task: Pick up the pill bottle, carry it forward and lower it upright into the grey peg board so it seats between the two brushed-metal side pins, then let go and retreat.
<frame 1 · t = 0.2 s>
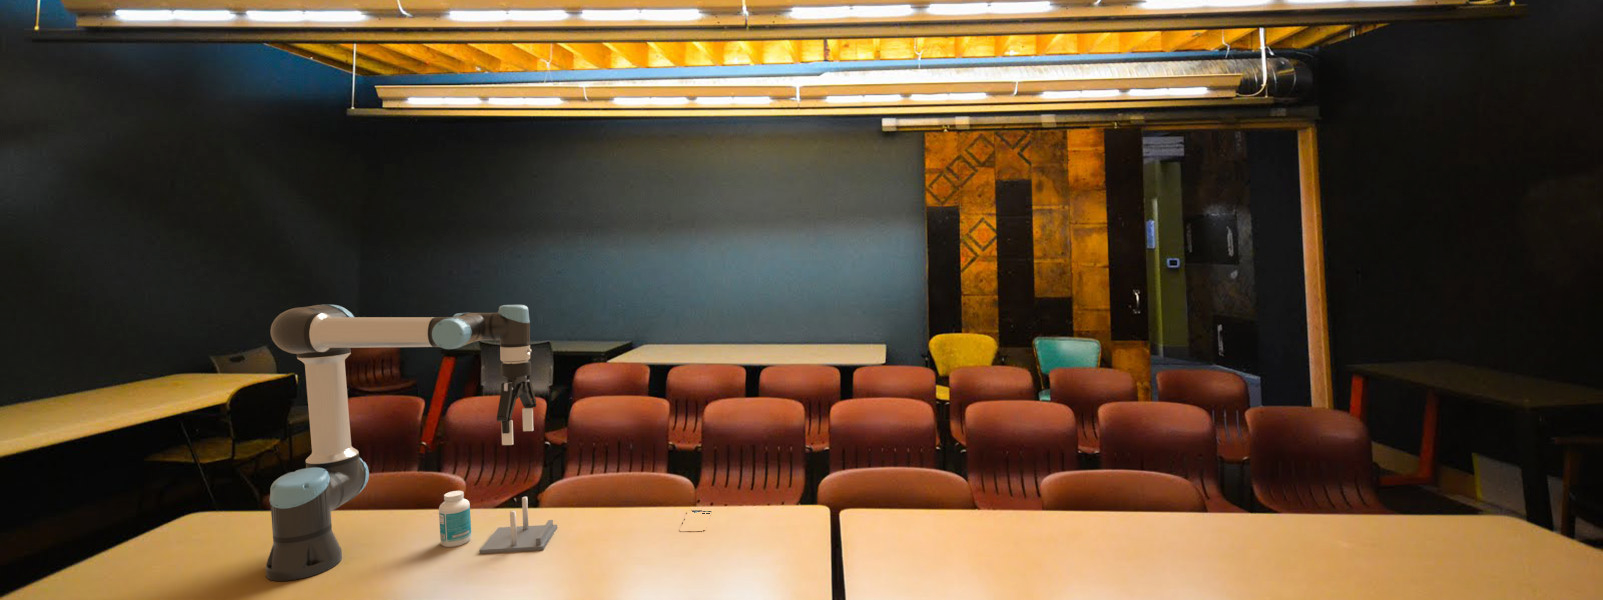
hand: (518, 437, 179), 27 cm above the table, fingers open, 13 cm apart
smartphone: (695, 522, 189), on the table
pill bottle: (456, 542, 175), on the table
grey peg board: (520, 540, 176), on the table
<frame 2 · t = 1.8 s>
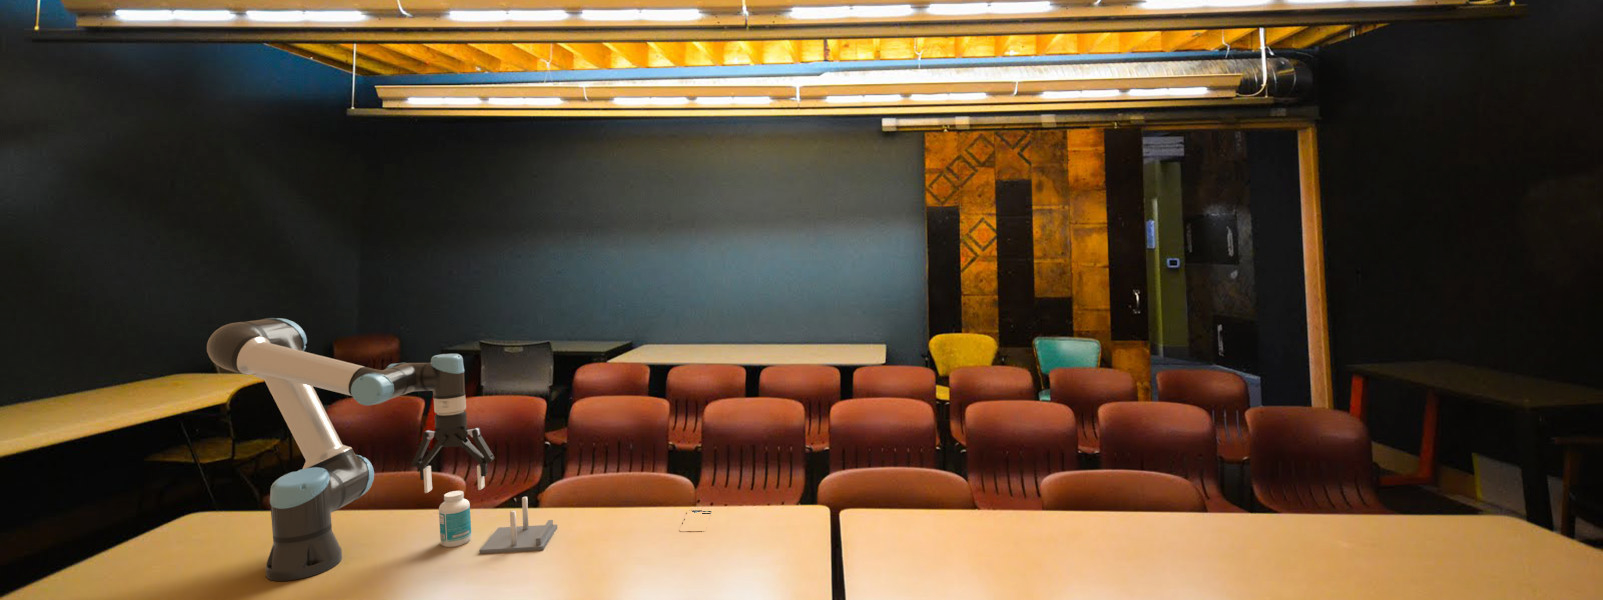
hand: (455, 489, 174), 15 cm above the table, fingers open, 13 cm apart
nothing on the table moved.
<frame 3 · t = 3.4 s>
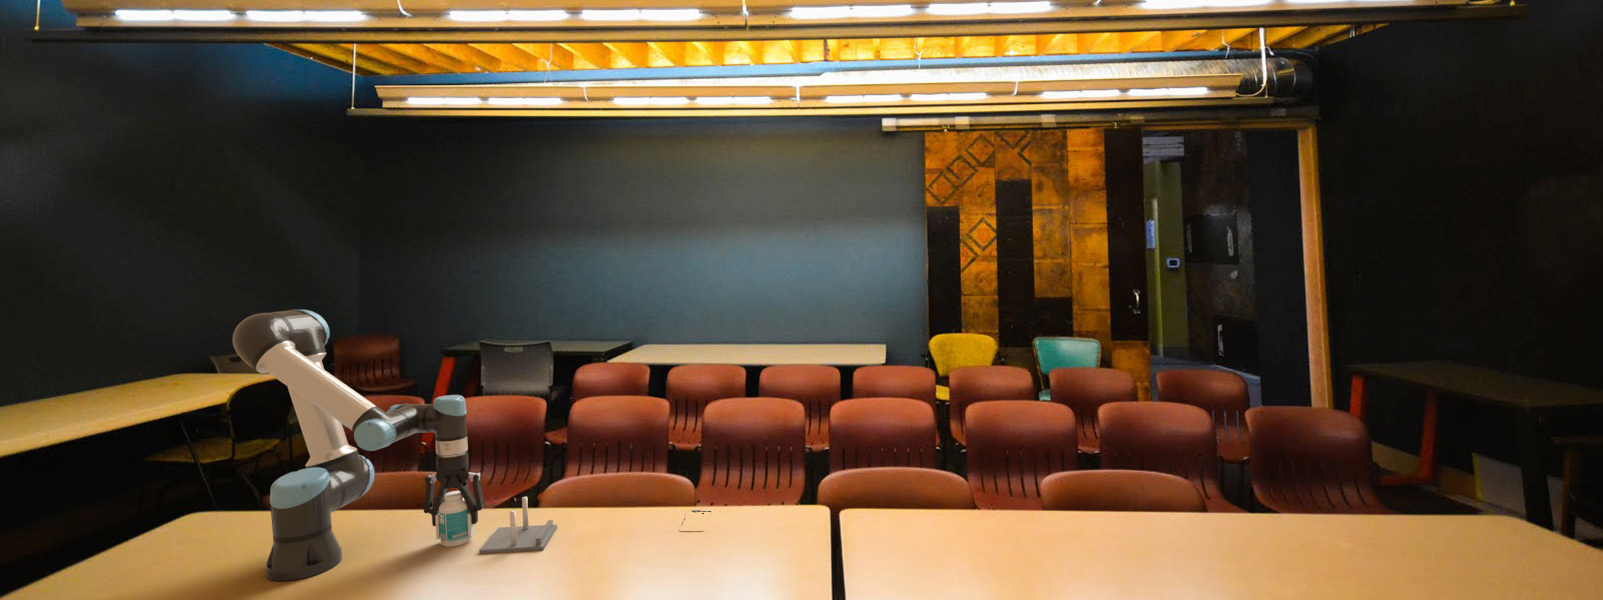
hand: (455, 536, 175), 2 cm above the table, fingers closed on pill bottle, 7 cm apart
pill bottle: (456, 542, 175), on the table, touching gripper
everything else where it was.
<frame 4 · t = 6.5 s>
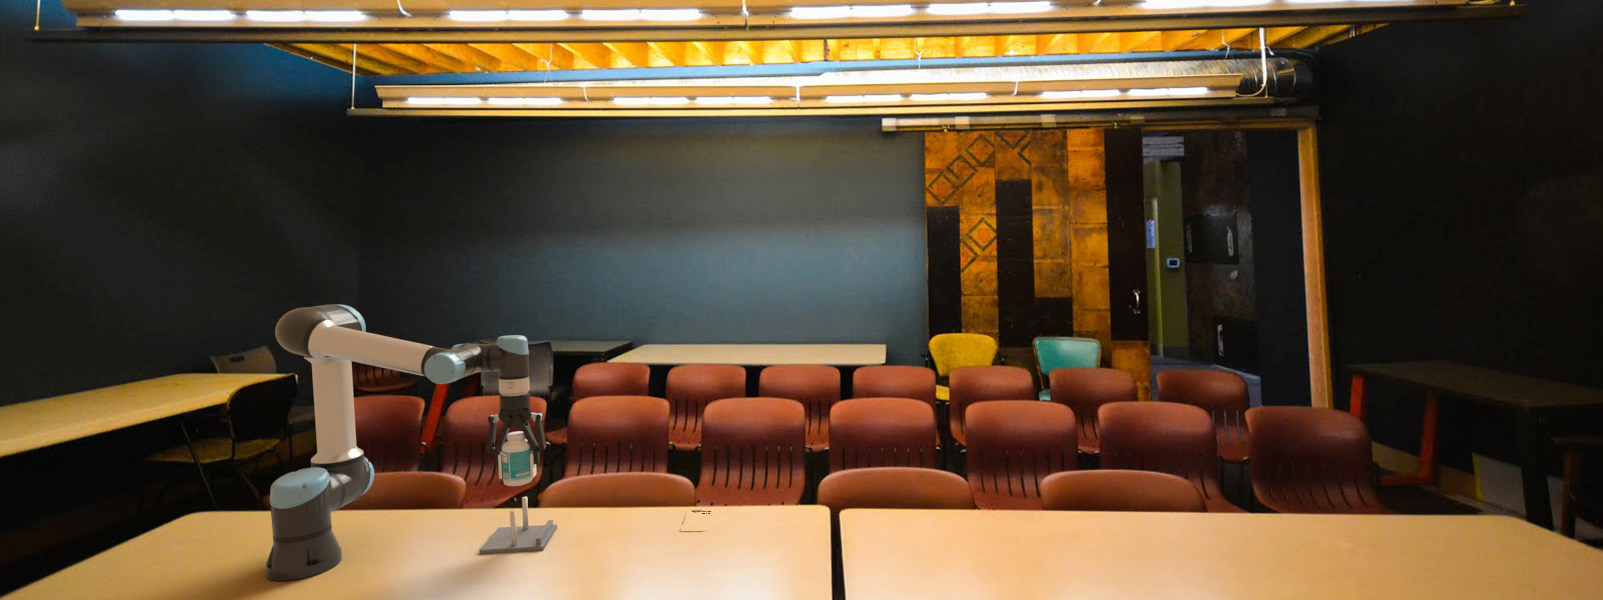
hand: (517, 476, 175), 18 cm above the table, fingers closed on pill bottle, 7 cm apart
pill bottle: (518, 483, 175), point 16 cm above the table, touching gripper
everything else where it was.
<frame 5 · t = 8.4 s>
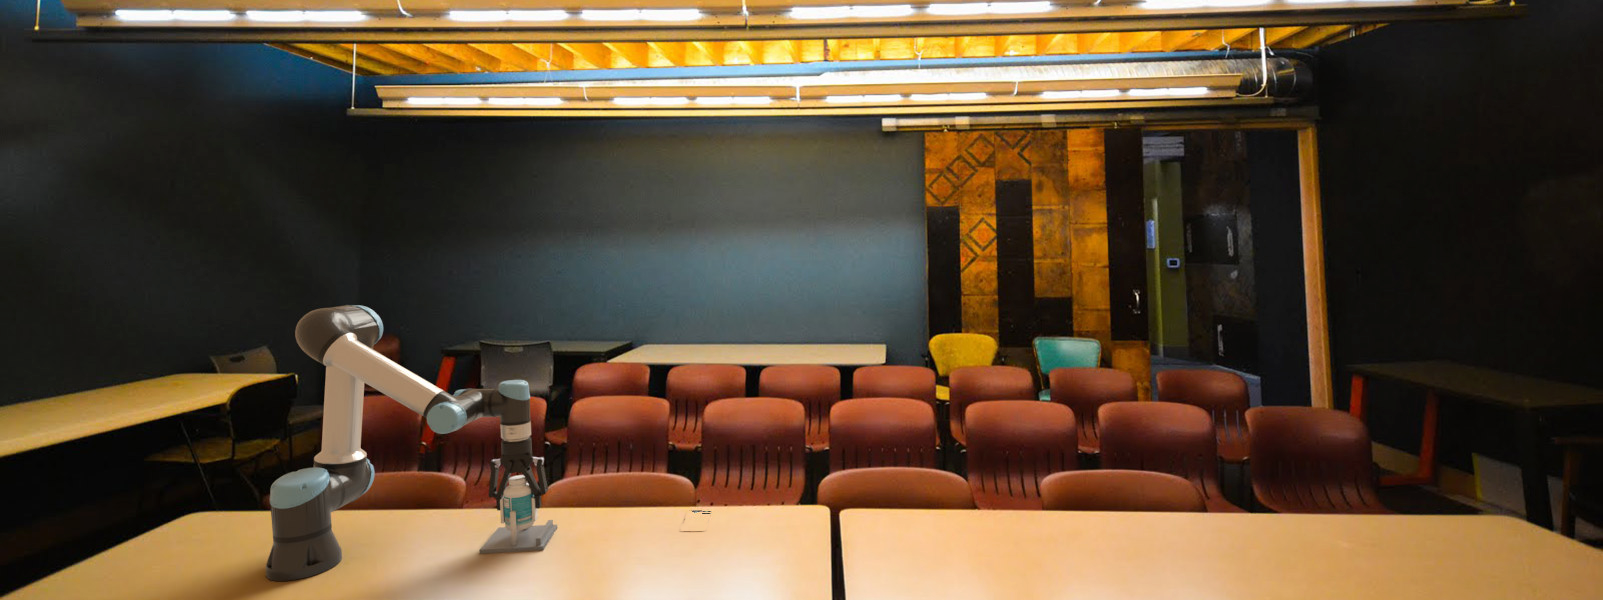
hand: (519, 520, 176), 6 cm above the table, fingers closed on pill bottle, 7 cm apart
pill bottle: (520, 527, 176), point 4 cm above the table, touching gripper
everything else where it was.
when the fingers open (4 cm above the table, at t = 9.6 s): pill bottle drops 1 cm, resting on grey peg board.
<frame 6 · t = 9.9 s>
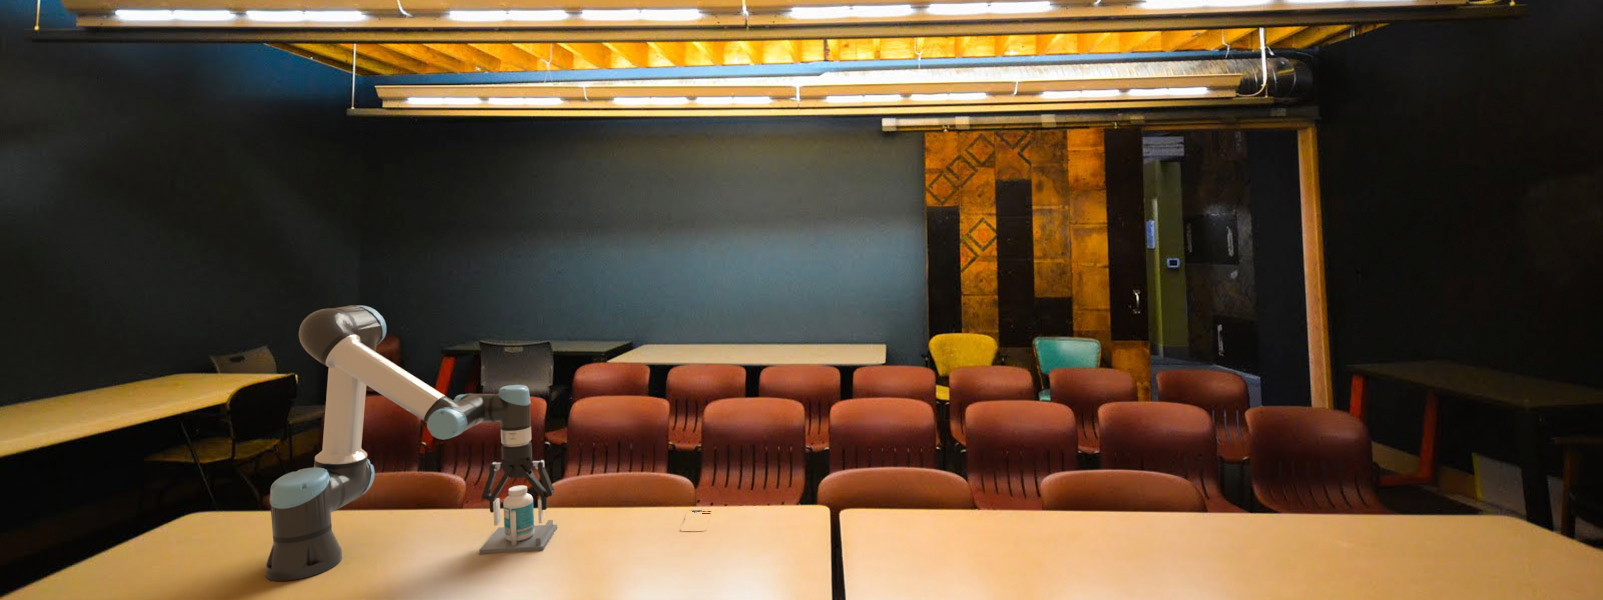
hand: (519, 522, 176), 5 cm above the table, fingers open, 11 cm apart
pill bottle: (519, 537, 176), point 1 cm above the table, touching grey peg board
everything else where it was.
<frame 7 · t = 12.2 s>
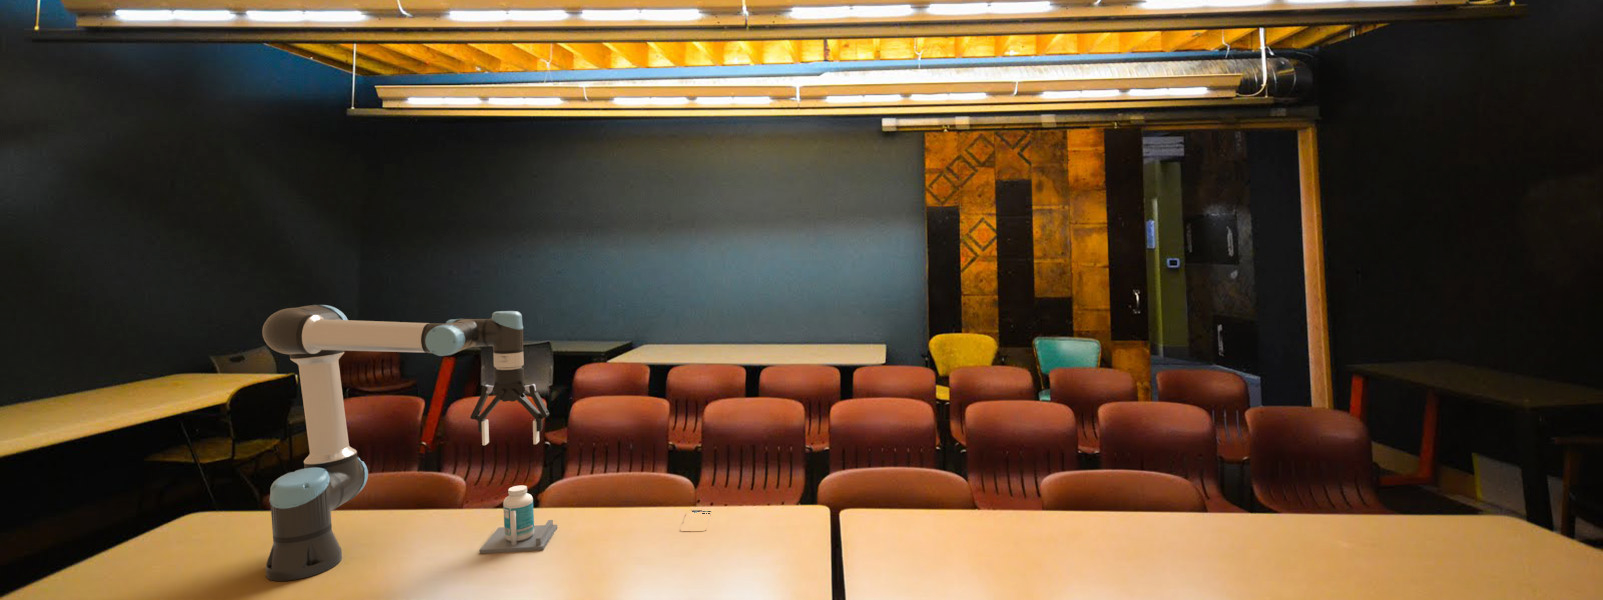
hand: (511, 443, 179), 26 cm above the table, fingers open, 13 cm apart
nothing on the table moved.
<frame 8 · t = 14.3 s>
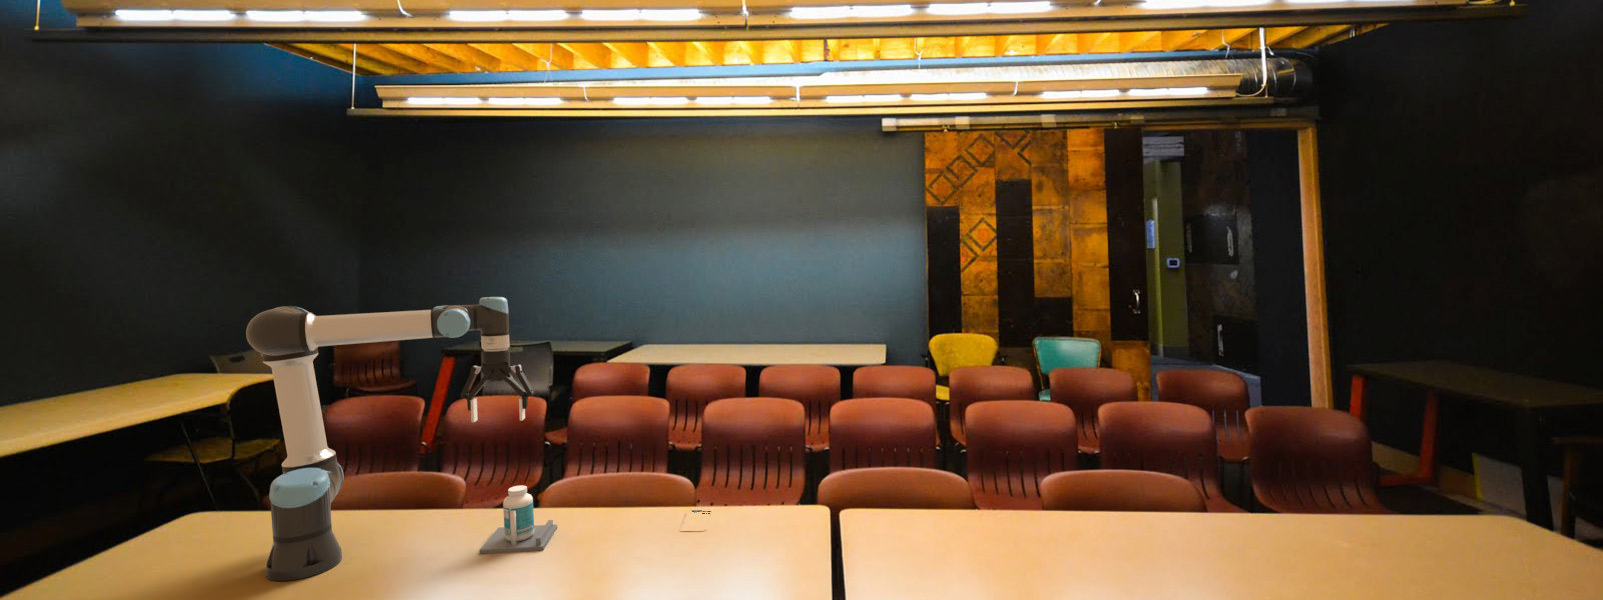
hand: (498, 420, 192), 29 cm above the table, fingers open, 13 cm apart
nothing on the table moved.
at the end: pill bottle 0.1 cm off-centre on the grey peg board, point 0.8 cm above the grey peg board's base; pill bottle tilted 0°; the gripper is holding nothing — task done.
